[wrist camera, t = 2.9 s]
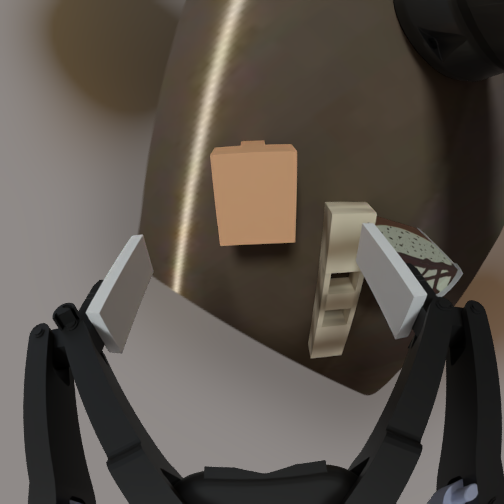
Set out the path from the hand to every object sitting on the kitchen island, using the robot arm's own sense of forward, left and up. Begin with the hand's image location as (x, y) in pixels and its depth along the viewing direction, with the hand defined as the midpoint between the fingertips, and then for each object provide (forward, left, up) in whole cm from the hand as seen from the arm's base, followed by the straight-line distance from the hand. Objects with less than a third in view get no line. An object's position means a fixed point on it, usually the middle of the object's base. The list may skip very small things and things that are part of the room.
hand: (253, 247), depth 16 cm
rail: (+15, +10, -13) cm, 22 cm away
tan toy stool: (0, 0, -13) cm, 13 cm away
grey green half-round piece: (+8, +16, -14) cm, 23 cm away
